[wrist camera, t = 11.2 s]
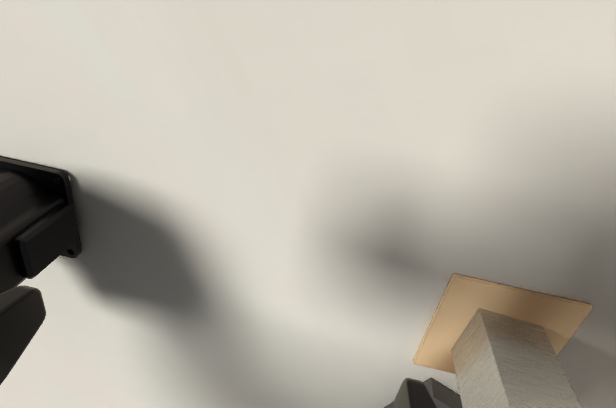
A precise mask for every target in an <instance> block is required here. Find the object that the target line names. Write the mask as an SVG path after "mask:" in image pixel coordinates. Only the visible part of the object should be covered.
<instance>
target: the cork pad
mask: <svg viewBox="0 0 616 408" xmlns="http://www.w3.org/2000/svg"><path fill="white" fill-rule="evenodd" d="M478 308H482V309H485V310H489V311H492V312H495V313H499V314H502V315H506V316H509V317H513V318H516V319H519V320H523V321H526V322H530V323H533V324H537V325H540V326H543V328H544V330H545V332H546V334H547V336H548V338H549V341H550V343H551V345H552V347H553V349H554V351H555V353H556V355H558V354H559V352H560V351H561V350H562V348H563V347H564V346H565V344H566V343H567V342H568V340H569V339H570V338H571V336H572V335H573V334H574V332H575V331H576V330H577V328H578V327H579V326H580V324H581V323H582V322H583V321H584V319H585V318H586V317H587V315H588V314H589V313H590V311H591V310H592V309H593V308H592V306H591V304H587V303H582V302H578V301H573V300H569V299H564V298H560V297H555V296H551V295H546V294H542V293H538V292H533V291H529V290H524V289H520V288H515V287H511V286H506V285H502V284H497V283H493V282H489V281H484V280H480V279H475V278H471V277H466V276H462V275H457V274H453V276H452V278H451V280H450V282H449V284H448V286H447V289H446V291H445V293H444V295H443V297H442V299H441V301H440V304H439V306H438V308H437V310H436V312H435V314H434V316H433V319H432V321H431V323H430V325H429V327H428V329H427V331H426V334H425V336H424V338H423V340H422V342H421V344H420V346H419V349H418V351H417V353H416V355H415V357H414V359H413V364H417V365H421V366H425V367H430V368H434V369H438V370H442V371H446V372H451V373H455V374H456V372H455V367H454V362H453V357H452V352H451V349H452V347H453V346H454V344H455V343H456V341H457V340H458V338H459V337H460V335H461V334H462V332H463V331H464V329H465V328H466V326H467V325H468V323H469V322H470V320H471V319H472V317H473V316H474V314H475V313H476V311H477V310H478Z"/></svg>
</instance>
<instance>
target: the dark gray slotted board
mask: <svg viewBox="0 0 616 408" xmlns="http://www.w3.org/2000/svg"><path fill="white" fill-rule="evenodd" d="M423 383H424V384H425V386H426V388H427V390H428V391H429V393H430V395H431V397H432V399H433V401H434V403H435V404H436V406H437V408H463V407H462V402H461V397H460V396H459V395H458V394H456V393H455V392H453V391H451V390H450V389H448V388H447V387H445V386H443V385H442V384H440V383H439V382H437V381H435V380H434V379H432V378H430V379H428V380H426V381H425V382H423ZM385 408H394V402H392V403H391V404H389V405H388V406H386V407H385Z"/></svg>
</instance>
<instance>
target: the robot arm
mask: <svg viewBox="0 0 616 408" xmlns="http://www.w3.org/2000/svg"><path fill="white" fill-rule="evenodd" d="M58 178H59V179H60V180H59V179H58ZM80 253H81V244H80V239H79V233H78V227H77V222H76V216H75V211H74V205H73V199H72V194H71V188H70V182H69V178H68V176H67V174H66V173H64V172H63V171H61V170H57V169H53V168H48V167H44V166H39V165H35V164H30V163H26V162H21V161H17V160H12V159H8V158H3V157H0V385H1V383H2V382H3V381H4V379H5V378H6V377H7V375H8V374H9V372H10V371H11V370H12V368H13V367H14V365H15V364H16V362H17V361H18V359H19V358H20V356H21V355H22V353H23V352H24V350H25V349H26V347H27V346H28V344H29V343H30V341H31V339H32V338H33V336H34V335H35V333H36V332H37V330H38V329H39V327H40V326H41V324H42V323H43V321H44V319H45V316H46V310H45V306H44V302H43V299H42V295H41V292H40V290H38V289H37V288H33V287H29V286H18V285H19V284H20V283H21V282H23V281H24V280H25V279H26V278H28V279H32V278H34V277H35V276H36V275H38V274H39V273H40V272H41V271H42V270H43V269H45V268H46V267H47V266H48V265H49V264H50V263H51V262H53V261H54V260H55V259H56V258H57V257H58V256H59V255H62V256H66V257H71V258H76V257H77V256H78V255H79V254H80ZM17 286H18V287H17ZM394 408H437V406H436V404H435V403H434V401H433V399H432V397H431V395H430V393H429V391H428V390H427V388H426V386H425V384H424V383H423V382H421V381H419V380H415V379H410V378H406V379H404V381H403V383H402V385H401V387H400V389H399V391H398V393H397V396H396V398H395V401H394Z"/></svg>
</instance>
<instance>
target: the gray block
mask: <svg viewBox="0 0 616 408" xmlns="http://www.w3.org/2000/svg"><path fill="white" fill-rule="evenodd" d="M451 352H452V357H453V362H454V367H455V372H456V377H457V382H458V387H459V392H460V397H461V402H462V407H463V408H581V406H580V403H579V401H578V399H577V397H576V395H575V393H574V391H573V389H572V387H571V385H570V382H569V380H568V378H567V376H566V374H565V372H564V370H563V368H562V366H561V364H560V361H559V359H558V357H557V355H556V353H555V351H554V349H553V347H552V345H551V343H550V341H549V338H548V336H547V334H546V332H545V330H544V328H543V326H540V325H537V324H533V323H530V322H526V321H523V320H519V319H516V318H513V317H509V316H506V315H502V314H499V313H495V312H492V311H489V310H485V309H482V308H478V310H477V311H476V313H475V314H474V316H473V317H472V319H471V320H470V322H469V323H468V325H467V326H466V328H465V329H464V331H463V332H462V334H461V335H460V337H459V338H458V340H457V341H456V343H455V344H454V346H453V347H452V349H451Z"/></svg>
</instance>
